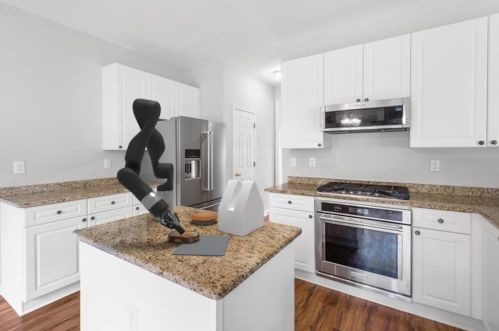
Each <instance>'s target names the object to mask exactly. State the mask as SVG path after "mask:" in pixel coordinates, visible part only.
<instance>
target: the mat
mask: <svg viewBox="0 0 499 331" xmlns="http://www.w3.org/2000/svg"><path fill="white" fill-rule="evenodd" d="M199 236H200V238H199V239H198V240H197V241H195V242H191V243H181V242H180V244H179V245H178V246H177V247H176V249H175V250H173V252H171V255H172V256H193V257H194V256H195V257H196V256H197V257H198V256H200V257H201V256H204V257H205V256H206V257H207V256H208V257H224V256H225V253H226V250H227V248H228V245H229V243H230V240H231V236H232V235H222V234H221V235H220V234H219V235H214V234H212V235H210V234H199Z"/></svg>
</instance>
